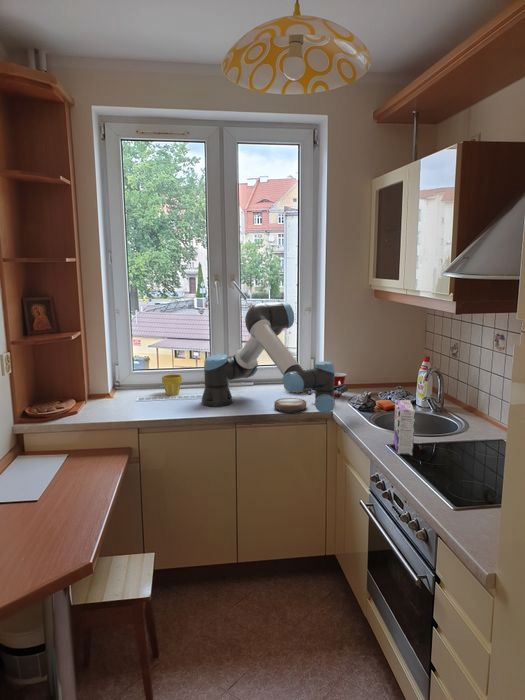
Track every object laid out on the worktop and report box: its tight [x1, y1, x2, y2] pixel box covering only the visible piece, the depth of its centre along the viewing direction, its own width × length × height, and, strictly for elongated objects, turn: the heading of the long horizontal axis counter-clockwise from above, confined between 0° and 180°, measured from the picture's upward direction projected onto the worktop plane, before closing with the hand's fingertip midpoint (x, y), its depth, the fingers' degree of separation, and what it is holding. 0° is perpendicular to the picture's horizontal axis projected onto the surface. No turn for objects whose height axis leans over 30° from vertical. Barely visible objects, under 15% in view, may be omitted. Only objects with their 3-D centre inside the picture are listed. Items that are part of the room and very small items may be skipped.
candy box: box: [393, 399, 416, 456], centre depth 179 cm, size 14×6×16 cm, turn 169°
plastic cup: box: [334, 372, 347, 398], centre depth 251 cm, size 11×11×12 cm
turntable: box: [274, 397, 307, 412], centre depth 231 cm, size 15×15×2 cm
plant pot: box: [161, 373, 183, 396], centre depth 259 cm, size 10×10×10 cm
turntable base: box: [277, 409, 304, 413], centre depth 232 cm, size 12×12×1 cm
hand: (324, 383), depth 225 cm, fingers open, 13 cm apart
